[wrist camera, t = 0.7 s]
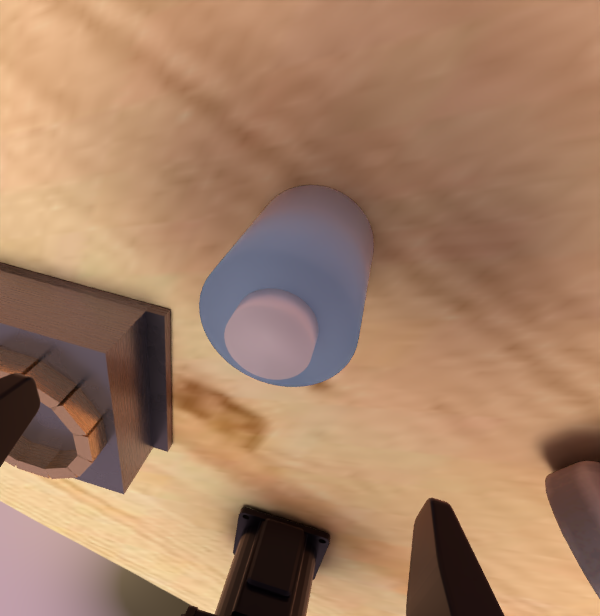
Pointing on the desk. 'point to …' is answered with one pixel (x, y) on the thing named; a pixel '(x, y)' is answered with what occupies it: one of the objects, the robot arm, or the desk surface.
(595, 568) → the pipe fitting
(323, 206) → the light blue tapered cylinder
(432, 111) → the desk surface
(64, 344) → the grey square ring base
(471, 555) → the robot arm
